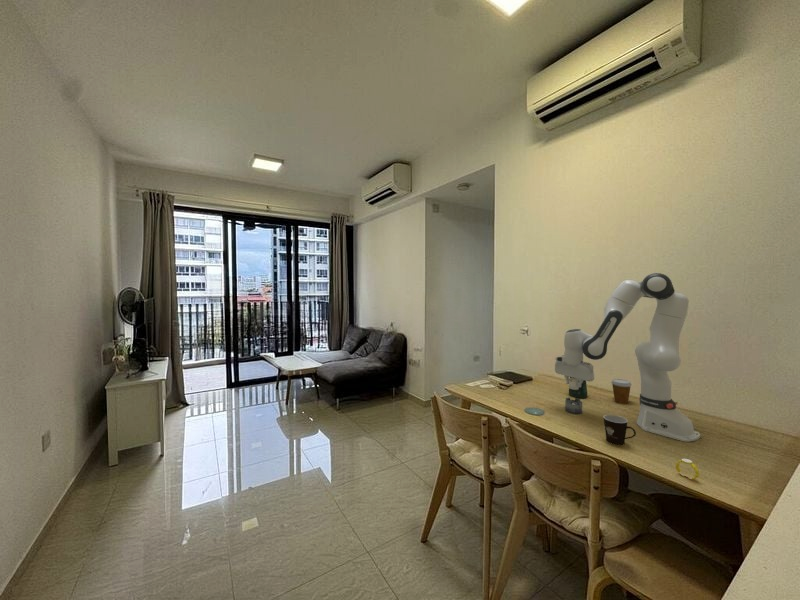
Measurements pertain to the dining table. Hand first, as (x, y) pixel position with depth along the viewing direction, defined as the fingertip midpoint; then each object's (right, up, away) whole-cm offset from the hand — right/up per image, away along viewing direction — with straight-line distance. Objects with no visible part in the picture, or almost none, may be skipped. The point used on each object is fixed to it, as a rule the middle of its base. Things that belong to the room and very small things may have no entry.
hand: (573, 385), depth 168 cm
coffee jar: (+16, -13, +24) cm, 31 cm away
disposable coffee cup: (+34, -13, +13) cm, 39 cm away
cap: (0, -2, 0) cm, 2 cm away
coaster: (-20, -14, +2) cm, 25 cm away
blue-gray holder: (0, -14, +1) cm, 14 cm away
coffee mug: (0, -16, -34) cm, 38 cm away
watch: (+7, -16, -58) cm, 61 cm away
